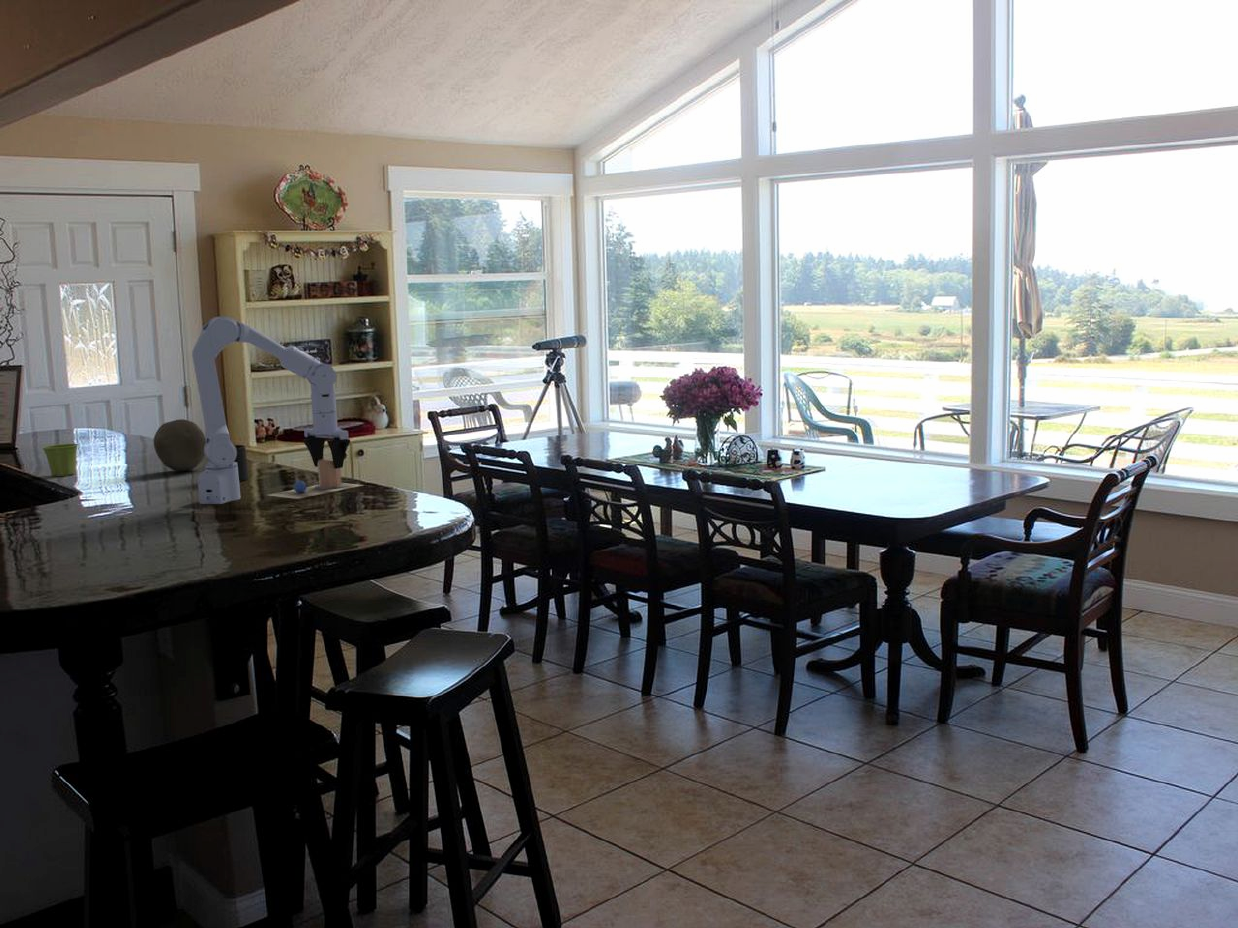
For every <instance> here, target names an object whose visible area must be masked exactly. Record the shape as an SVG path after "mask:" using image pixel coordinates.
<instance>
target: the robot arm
mask: <svg viewBox="0 0 1238 928" xmlns="http://www.w3.org/2000/svg"><path fill="white" fill-rule="evenodd" d="M235 342H236V343H248V344H250V345H252V346H254V347H256V348H258V349H260V350H262V351H264V352H266V353H268V354H270V355H272V357H273V356H274V357H275V358H278V360H279V362H280V367H282V368H283V369H286V370H287V371H289V372H291V373H293V374H295V375H297V376H298V377H300V378H301V379H304V380H307V381H308V383H309V384H310V390H311V391H310V392H311V393H310V399H311V410H312V411H311V413H312V424H313V427H311V428H304V429H303V431H304V433H303V434H304V437H305V438H304V439H303V440H302V442H303V444H304V445H305V446H306V448H307V449H308V452H309V454H310V457H311V460H312V463H313V467H316V468H318V460H321V459H324V451H325V445H326V444H325V443H327V445H328V447H329V449H330V453H331V457H332V459H333V465H334V468H335V469H337V468H340V469H341V468H342V469H343V467H344V462H345V457H346V452H347V450H348V447H349V446H350V443H351V439H350V438H349V431H348V430H346V429H345V430H344V429H341V427H340V428H339V427H338V417H337V416H338V414H337V402H336V392H335V382H336V381H337V374H336V371H335V370H334V368H333V367H332V366H331V365H329V364H327V363H324V362H321V358H320V357H318V356H317V357H314V356H312V355H310V354H308V353H307V352H305V351H304V348H303V347H301V346H299V345H297V347H296V346H295V345H290V346H286V347H285V346H283V345H282V344H280V343H279V342H278V341H276V340H274V339H272V338H270V337H269V336H268V335H266V334H264V333H262V332H260V331H259V330H257V329H256V328H254V327H252V326H250V325H248V324H245V323H243V322H241V321H236V320H235V319H233V318H231V317H229V316H216V317H215V316H214V317H213V318H210V319H209V321H208V322H207V323H206V324H205V325H204V326H203V327H202V328H201V330H200V335H199V336H198V338H197V340H196V343H195V345H194V347H193V349H192V351H191V357H192V363H193V367H194V373H195V378H196V384H197V389H198V394H199V400H200V401H199V402H200V406H201V411H202V416H203V421H204V428H205V429H204V436H205V438H206V443H205V446H204V453H205V457H206V458H207V459H208V461H207V463H206V464H205V465H204V466H205V469H204V471H201V473H199V475H198V477H197V488H198V490H197V491H198V499H199V504H200V505H202V504H203V505H205V504H207V505H211V504H212V505H222V504H225V503H229V502H233V501H237V500H240V499H241V498H242V497H241V490H240V488H241V487H240V482H239V475H238V465H237V462H234V461H235V459H236V456H237V450H236V447H235V446H234V445H235V444H233V442H232V440H231V437H230V432H229V429H228V426H227V422H226V415H225V411H224V410H225V409H224V404H223V398H222V395H221V388H220V383H219V378H218V372H217V366H216V358H217V357H218V355H219V354H220V353H222V350H223V349H225V348H227V347H228V346H230V345H231V344H233V343H235ZM327 439H328V440H327Z"/></svg>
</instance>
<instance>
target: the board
mask: <svg viewBox="0 0 1238 928" xmlns="http://www.w3.org/2000/svg"><path fill="white" fill-rule="evenodd" d="M341 483H342V485H341V486H338V487H331V488H321V487H320V486H319V484H315V485H311V486H307V488H306V490H305V492H303V493H297V492H296V491H295V490H294V489H291V490H285V491H281V492H275V493H270V494H267V496H269V497H277V498H278V497H279V498H286V499H295V500H298V499H305V498H308V497H309V498H310V497H313V496H318V495H324V494H329V493H333V492H338V491H342V490H349V489H352V488H357V487H358V488H359V487H362V486H363V487H364V484H357V483H356V484H355V483H347V482H346V483H345V482H341Z"/></svg>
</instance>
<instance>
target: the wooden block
mask: <svg viewBox="0 0 1238 928" xmlns="http://www.w3.org/2000/svg"><path fill="white" fill-rule="evenodd" d="M317 470H318V471H317V473H318V483H319V484H318V485H319V486H320V487H321V488H331V487H338V486H341V485H342V483H343V482H342V473H341V468H337V469H335V468H334V465H333V459H332V458H323V459H321V460H318V467H317Z"/></svg>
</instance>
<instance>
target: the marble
mask: <svg viewBox="0 0 1238 928" xmlns="http://www.w3.org/2000/svg"><path fill="white" fill-rule="evenodd" d="M307 487H308V486H307V483H306V482H305V481H303V480H297V481H296V482H295V483H294V484H293V490H295V491H296V492H297V493H303V492H305V490H306V488H307Z"/></svg>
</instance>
